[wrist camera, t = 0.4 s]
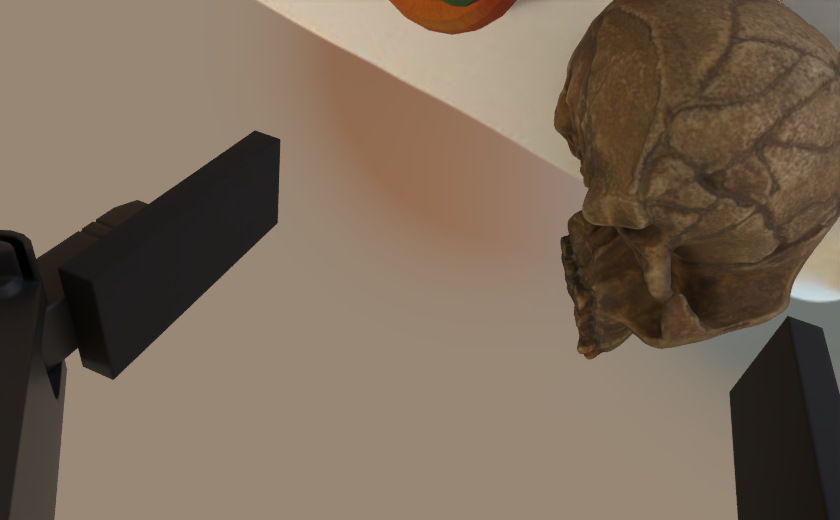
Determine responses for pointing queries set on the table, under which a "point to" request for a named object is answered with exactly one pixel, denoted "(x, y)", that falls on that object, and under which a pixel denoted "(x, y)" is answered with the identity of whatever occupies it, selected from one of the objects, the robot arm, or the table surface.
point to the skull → (696, 167)
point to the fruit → (453, 13)
